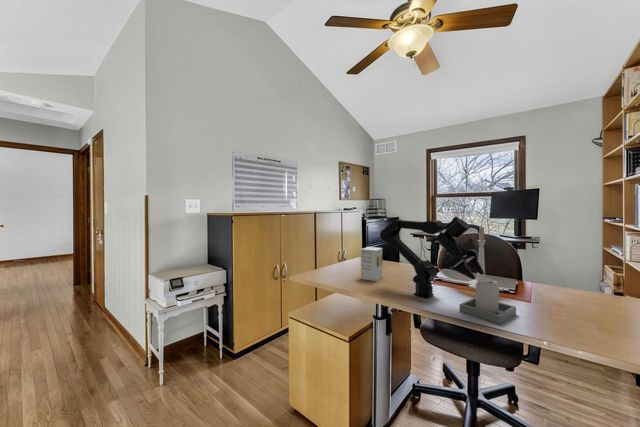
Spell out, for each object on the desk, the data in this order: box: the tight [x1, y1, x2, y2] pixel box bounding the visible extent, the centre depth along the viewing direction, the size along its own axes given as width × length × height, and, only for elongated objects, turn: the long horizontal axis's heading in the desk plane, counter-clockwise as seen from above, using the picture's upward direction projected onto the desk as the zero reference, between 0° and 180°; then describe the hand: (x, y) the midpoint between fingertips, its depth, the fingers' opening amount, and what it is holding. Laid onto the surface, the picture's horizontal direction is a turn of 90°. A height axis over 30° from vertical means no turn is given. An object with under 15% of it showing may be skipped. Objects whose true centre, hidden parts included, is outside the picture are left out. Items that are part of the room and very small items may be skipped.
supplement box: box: [360, 246, 383, 282], centre depth 150 cm, size 10×9×17 cm
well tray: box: [459, 296, 517, 326], centre depth 103 cm, size 14×14×3 cm
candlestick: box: [467, 226, 486, 290], centre depth 133 cm, size 13×13×30 cm
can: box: [475, 278, 500, 314], centre depth 103 cm, size 8×8×12 cm
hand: (479, 276), depth 104 cm, fingers open, 9 cm apart
